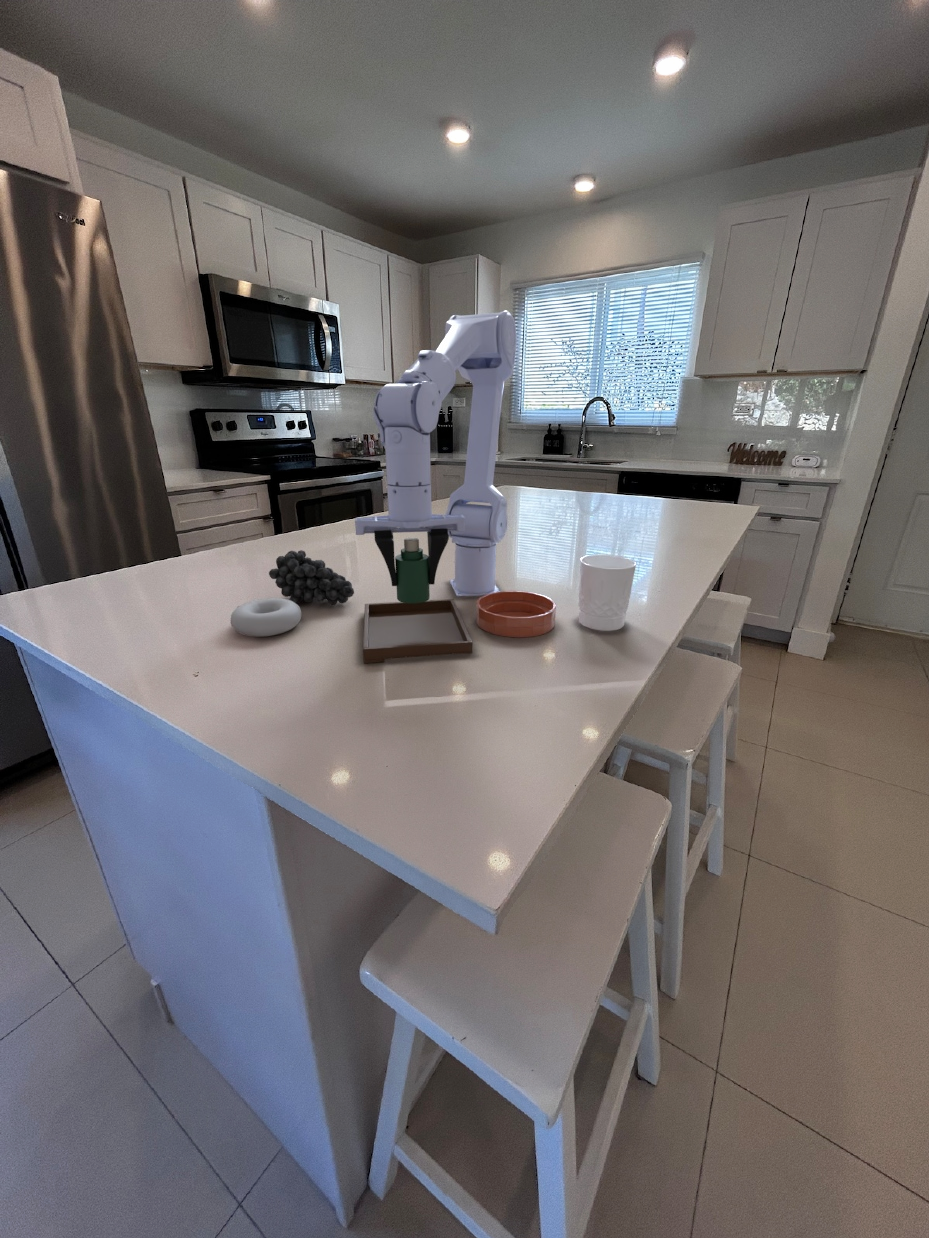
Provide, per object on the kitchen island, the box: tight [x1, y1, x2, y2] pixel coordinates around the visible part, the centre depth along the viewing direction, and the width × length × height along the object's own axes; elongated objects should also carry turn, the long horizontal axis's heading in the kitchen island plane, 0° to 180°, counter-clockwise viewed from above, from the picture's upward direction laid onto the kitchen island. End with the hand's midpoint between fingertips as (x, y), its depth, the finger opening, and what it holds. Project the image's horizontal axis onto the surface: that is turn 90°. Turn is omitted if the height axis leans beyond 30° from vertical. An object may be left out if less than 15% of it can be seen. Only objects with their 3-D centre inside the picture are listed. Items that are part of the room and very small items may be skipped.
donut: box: [230, 597, 302, 638], centre depth 76 cm, size 10×4×10 cm
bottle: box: [394, 537, 431, 603], centre depth 71 cm, size 5×5×8 cm
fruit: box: [268, 550, 355, 606], centre depth 85 cm, size 9×8×15 cm
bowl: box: [475, 590, 557, 638], centre depth 77 cm, size 12×12×4 cm
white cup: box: [578, 554, 637, 632], centre depth 76 cm, size 8×8×10 cm
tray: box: [362, 598, 474, 664], centre depth 74 cm, size 17×14×2 cm
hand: (412, 583), depth 71 cm, fingers closed on bottle, 4 cm apart
